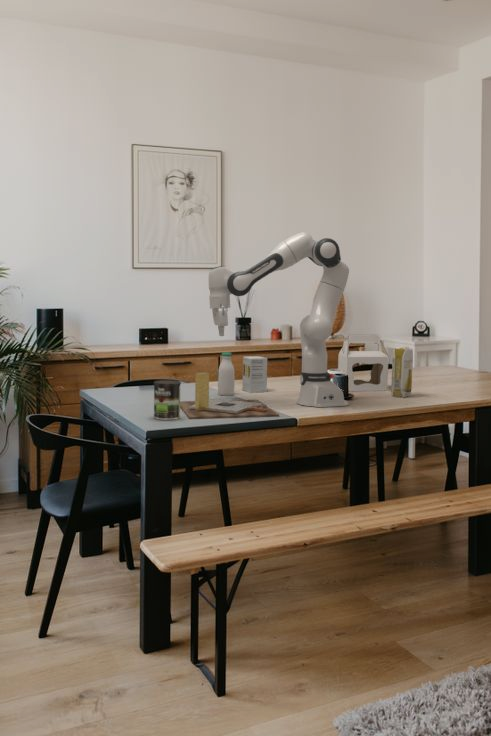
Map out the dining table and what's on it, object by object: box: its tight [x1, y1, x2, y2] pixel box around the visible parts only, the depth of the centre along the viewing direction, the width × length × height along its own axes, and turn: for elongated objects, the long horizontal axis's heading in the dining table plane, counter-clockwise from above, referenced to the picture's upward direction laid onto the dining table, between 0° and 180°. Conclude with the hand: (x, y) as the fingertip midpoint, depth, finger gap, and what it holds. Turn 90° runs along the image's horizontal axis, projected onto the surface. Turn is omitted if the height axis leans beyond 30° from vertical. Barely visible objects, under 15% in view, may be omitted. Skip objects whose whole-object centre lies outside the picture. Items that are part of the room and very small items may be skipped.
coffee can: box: [153, 379, 182, 421], centre depth 268 cm, size 10×10×14 cm
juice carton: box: [390, 345, 414, 398], centre depth 329 cm, size 9×8×24 cm
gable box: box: [337, 333, 389, 393], centre depth 350 cm, size 22×13×28 cm, turn 102°
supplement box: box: [242, 355, 268, 394], centre depth 339 cm, size 10×9×17 cm
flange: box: [189, 372, 266, 414], centre depth 284 cm, size 25×29×15 cm
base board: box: [180, 399, 280, 420], centre depth 288 cm, size 36×36×3 cm
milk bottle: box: [217, 351, 235, 397], centre depth 326 cm, size 8×8×20 cm
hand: (221, 336), depth 300 cm, fingers closed
